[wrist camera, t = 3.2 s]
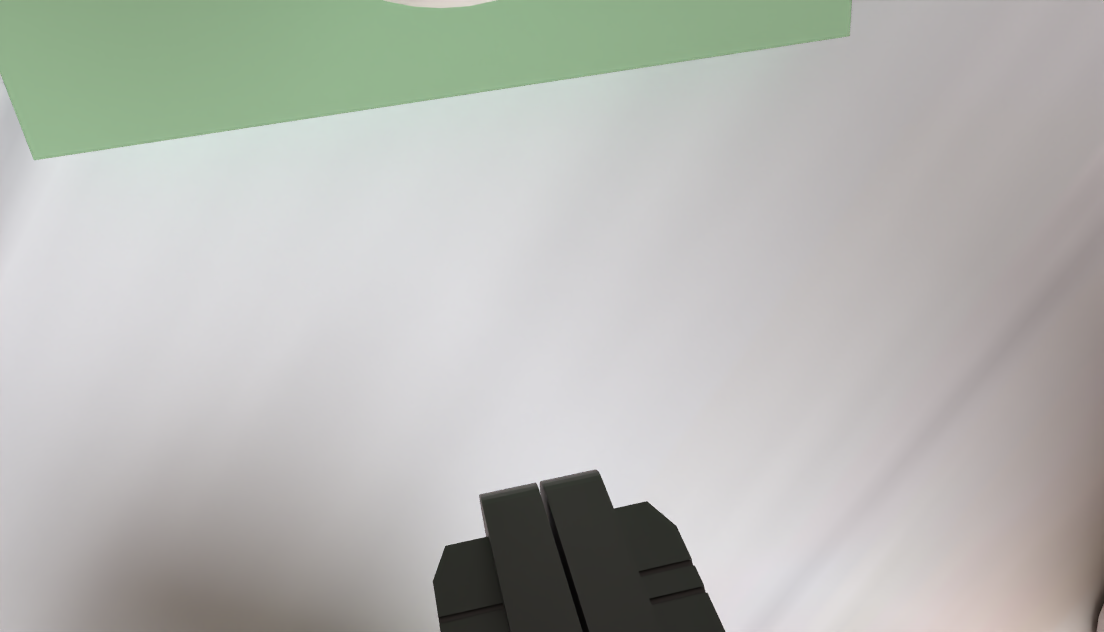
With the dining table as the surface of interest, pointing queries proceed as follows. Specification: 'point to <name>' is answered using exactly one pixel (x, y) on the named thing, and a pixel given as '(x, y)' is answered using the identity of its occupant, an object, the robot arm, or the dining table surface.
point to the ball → (439, 3)
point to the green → (339, 56)
